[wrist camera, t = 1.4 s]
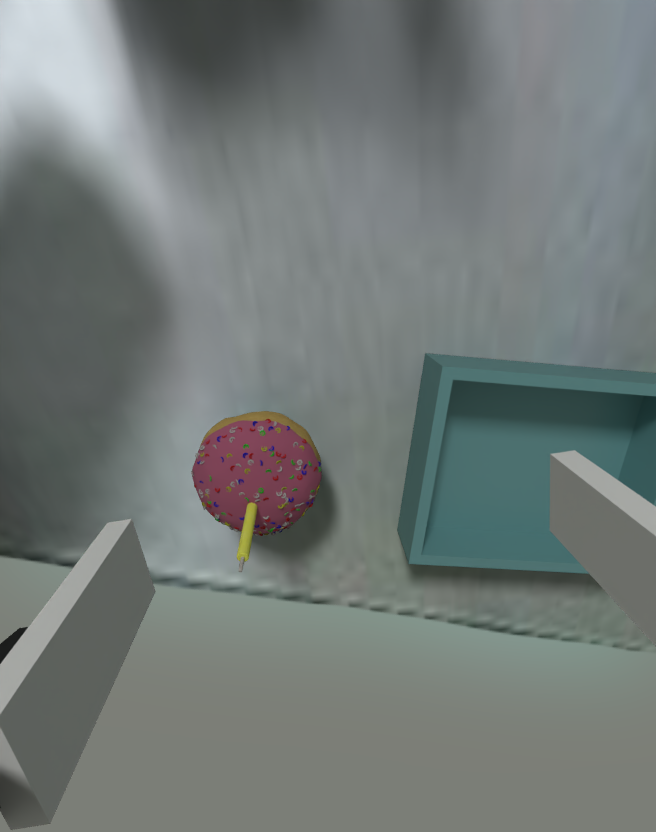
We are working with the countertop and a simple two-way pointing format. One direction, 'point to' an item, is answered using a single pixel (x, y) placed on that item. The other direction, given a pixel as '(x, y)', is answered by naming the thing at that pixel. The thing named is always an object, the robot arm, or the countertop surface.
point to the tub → (515, 456)
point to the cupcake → (257, 474)
